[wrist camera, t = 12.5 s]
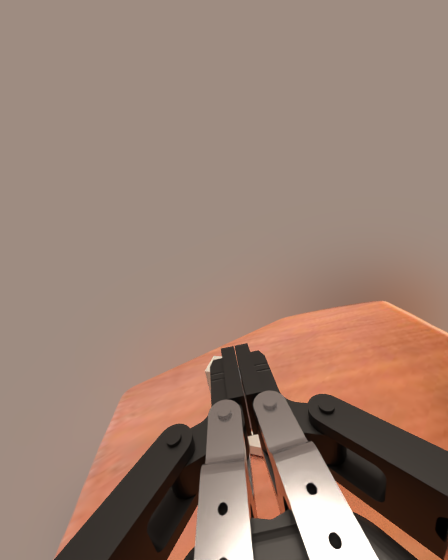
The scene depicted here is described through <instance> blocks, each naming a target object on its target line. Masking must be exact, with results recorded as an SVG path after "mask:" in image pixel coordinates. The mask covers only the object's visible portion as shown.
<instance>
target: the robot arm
mask: <svg viewBox="0 0 448 560" xmlns="http://www.w3.org/2000/svg"><path fill="white" fill-rule="evenodd" d="M235 351H236V355H235ZM221 353H222V358H220V359H215V360H213V362H212V364H211V366H210V381H211V404H212V406H211V409H210V411H209V414H208V416H207V418H206V419H205V420H204V421H202V422H201V423H199V424H198V425H196V426H194V427H192V428H189V427H188V426H187V425H184V424H175V425H172V426H170V427H168V428H167V429H166V430H165V431H164V432H163V433H162V434H161V435H160V436H159V437H158V438H157V440H156V441H155V442H154V443H153V444H152V445H151V447H150V448H149V449H148V450H147V451H146V452H145V454H144V455H143V456H142V457H141V458H140V460H139V461H138V462H137V463H136V464H135V465H134V467H133V468H132V469H131V470H130V471H129V472H128V474H127V475H126V476H125V477H124V478H123V479H122V481H121V482H120V483H119V484H118V485H117V486H116V488H115V489H114V490H113V491H112V492H111V494H110V495H109V496H108V497H107V498H106V499H105V501H104V502H103V503H102V504H101V505H100V506H99V508H98V509H97V510H96V511H95V512H94V513H93V515H92V516H91V517H90V518H89V519H88V520H87V522H86V523H85V524H84V525H83V526H82V528H81V529H80V530H79V531H78V532H77V533H76V535H75V536H74V537H73V538H72V539H71V540H70V542H69V543H68V544H67V545H66V546H65V547H64V549H63V550H62V551H61V552H60V553H59V554H58V556H57V557H56V558H55V559H54V560H167V559H168V557H169V555H170V553H171V551H172V550H173V548H174V546H175V544H176V543H177V541H178V539H179V537H180V535H181V534H182V532H183V530H184V528H185V527H186V525H187V523H188V521H189V520H190V518H191V516H192V514H193V512H194V511H195V509H196V507H197V505H198V512H197V526H196V539H195V547H194V548H193V549H192V550H191V551H190V552H189V553H188V555H187V556H186V557H185V559H184V560H418V559H417V558H415V557H414V556H413V555H412V554H411V553H409V552H408V551H407V550H406V549H404V548H403V547H402V546H401V545H400V544H398V543H397V542H396V541H395V540H393V539H392V538H391V537H390V536H389V535H387V534H386V533H385V532H384V531H382V530H381V529H380V528H379V527H377V526H376V525H375V524H373V523H372V522H370V521H369V520H367V519H366V518H364V517H362V516H360V515H358V514H357V513H354V512H352V511H351V509H350V507H349V505H348V503H347V501H346V500H345V498H344V496H343V494H342V492H341V491H340V489H339V487H338V485H337V483H336V482H335V481H337V482H338V483H339V484H341V485H342V486H343V487H345V488H346V489H347V490H349V491H350V492H351V493H353V494H354V495H356V496H357V497H358V498H360V499H361V500H362V501H364V502H365V503H366V504H368V505H369V506H370V507H372V508H373V509H375V510H376V511H377V512H379V513H380V514H381V515H383V516H384V517H385V518H387V519H388V520H389V521H391V522H392V523H393V524H395V525H396V526H398V527H399V528H400V529H402V530H403V531H404V532H406V533H407V534H408V535H410V536H411V537H412V538H414V539H415V540H417V541H418V542H419V543H421V544H422V545H423V546H425V547H426V548H427V549H429V550H430V551H431V552H433V553H434V554H436V555H437V556H438V557H440V558H441V559H442V560H448V451H446V450H444V449H442V448H440V447H438V446H436V445H434V444H431V443H429V442H427V441H425V440H423V439H421V438H419V437H417V436H415V435H413V434H411V433H409V432H406V431H404V430H402V429H400V428H398V427H396V426H394V425H392V424H390V423H388V422H386V421H384V420H382V419H379V418H377V417H375V416H373V415H371V414H369V413H367V412H365V411H363V410H361V409H359V408H357V407H355V406H352V405H350V404H348V403H346V402H344V401H342V400H340V399H338V398H336V397H334V396H331V395H328V394H318V395H315V396H313V397H312V398H311V399H310V400H309V402H308V403H299V402H293V401H290V400H288V399H286V398H285V397H284V396H283V395H281V393H280V392H279V389H278V387H277V385H276V382H275V380H274V377H273V375H272V372H271V370H270V368H269V365H268V363H267V360H266V358H265V355H263V354H262V353H261V352H260V351H259V350H258V351H254V352H250V350H249V347H248V344H247V343H246V344H241V345H236V346H235V350H234V346H232V347H227V348H222V349H221ZM236 356H237V360H236ZM237 361H238V364H237ZM238 366H239V369H238ZM239 371H240V373H239ZM240 376H241V378H240ZM241 381H242V383H241ZM242 386H243V387H242ZM243 390H244V392H243ZM244 395H245V396H244ZM245 399H246V402H245ZM246 404H247V407H246ZM247 408H248V412H247ZM248 413H249V417H250V422H251V426H252V431H253V435H257V434H258V436H259V441H260V445H261V451H262V455H263V458H264V461H265V464H266V467H267V471H268V474H269V477H270V480H271V483H272V486H273V490H274V493H275V496H276V499H277V503H278V506H279V510H280V515H279V516H277V517H276V518H274V519H271V520H267V519H258V517H257V511H256V503H255V494H254V486H253V477H252V468H251V460H250V445H249V440H248V436H252V433H251V428H250V423H249V417H248Z"/></svg>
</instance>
